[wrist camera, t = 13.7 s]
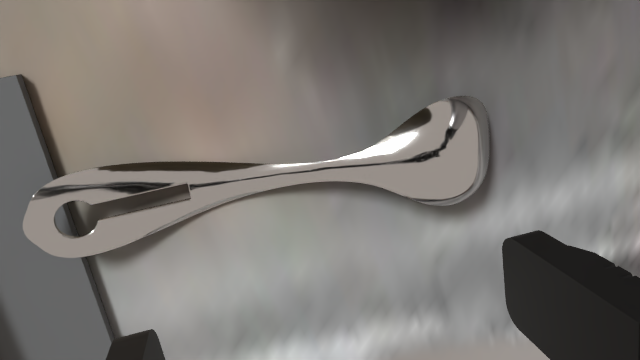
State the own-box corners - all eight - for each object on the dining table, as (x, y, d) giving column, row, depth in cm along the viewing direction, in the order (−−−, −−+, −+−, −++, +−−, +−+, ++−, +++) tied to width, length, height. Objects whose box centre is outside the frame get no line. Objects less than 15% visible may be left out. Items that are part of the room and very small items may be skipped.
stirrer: (24, 313, 17) (-21, 186, 16) (51, 269, 20) (16, 161, 19) (525, 198, 21) (524, 89, 20) (479, 177, 24) (476, 82, 23)
